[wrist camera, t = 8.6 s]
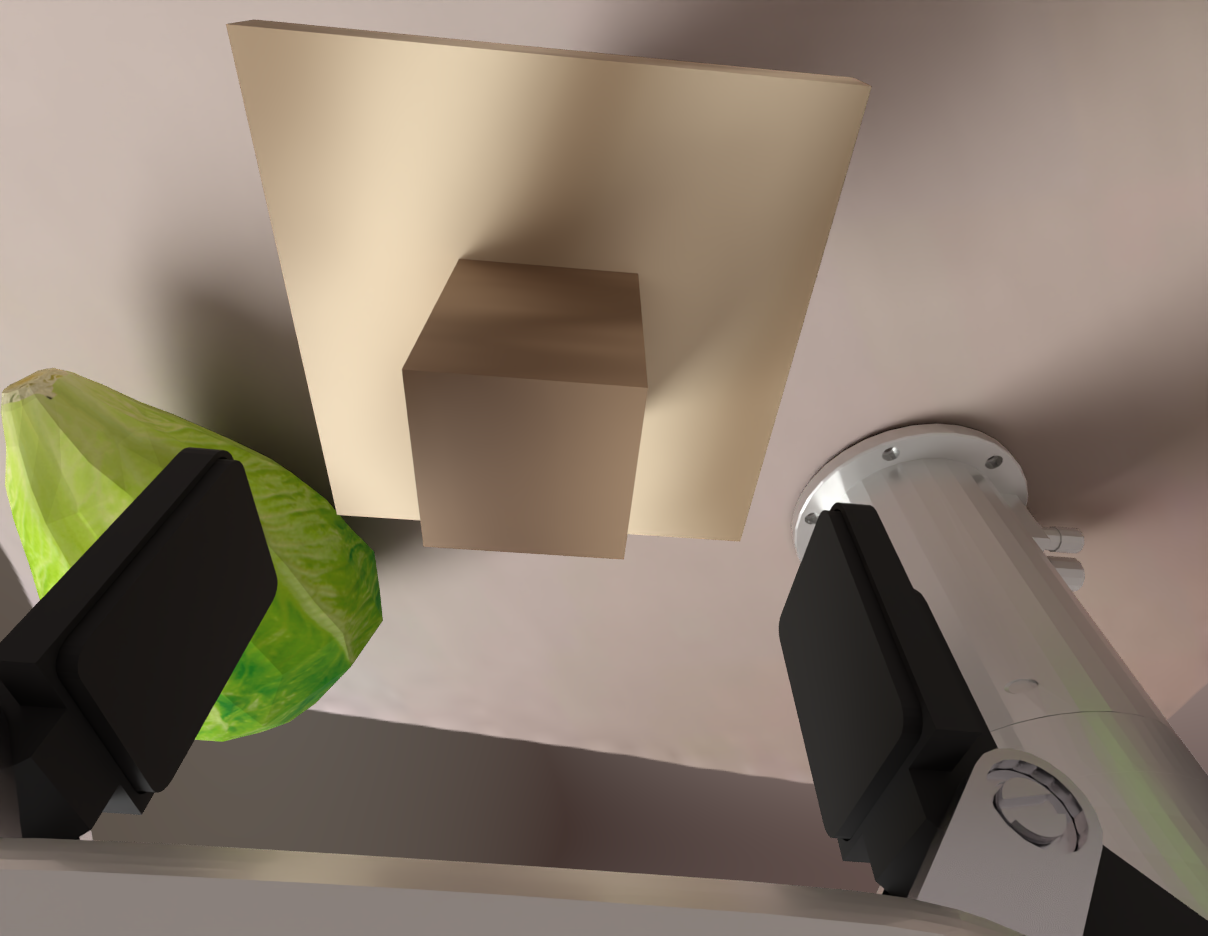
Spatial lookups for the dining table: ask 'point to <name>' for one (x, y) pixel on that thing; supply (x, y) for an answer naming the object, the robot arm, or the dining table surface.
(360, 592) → the lettuce
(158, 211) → the dining table surface
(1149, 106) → the dining table surface
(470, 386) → the lid
